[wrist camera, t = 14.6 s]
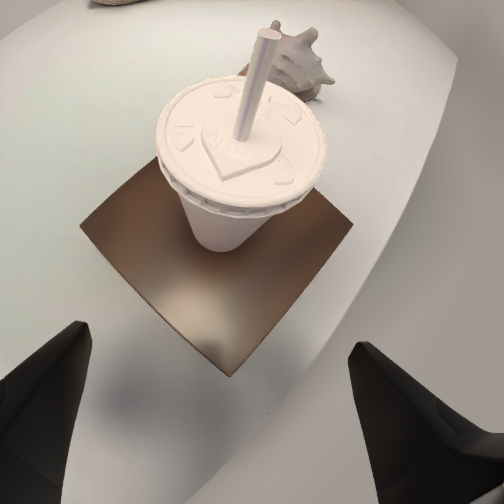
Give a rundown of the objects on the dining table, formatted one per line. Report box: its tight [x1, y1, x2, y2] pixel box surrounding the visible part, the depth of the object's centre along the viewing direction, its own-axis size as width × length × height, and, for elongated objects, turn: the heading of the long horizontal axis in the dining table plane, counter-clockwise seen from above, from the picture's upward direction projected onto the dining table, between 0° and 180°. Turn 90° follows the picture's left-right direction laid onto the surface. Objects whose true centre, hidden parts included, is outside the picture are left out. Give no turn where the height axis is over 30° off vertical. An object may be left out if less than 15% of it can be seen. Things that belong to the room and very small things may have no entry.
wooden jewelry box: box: [80, 157, 353, 377], centre depth 21 cm, size 14×14×4 cm
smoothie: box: [156, 29, 327, 252], centre depth 12 cm, size 6×6×14 cm
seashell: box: [237, 20, 335, 101], centre depth 24 cm, size 10×12×9 cm
